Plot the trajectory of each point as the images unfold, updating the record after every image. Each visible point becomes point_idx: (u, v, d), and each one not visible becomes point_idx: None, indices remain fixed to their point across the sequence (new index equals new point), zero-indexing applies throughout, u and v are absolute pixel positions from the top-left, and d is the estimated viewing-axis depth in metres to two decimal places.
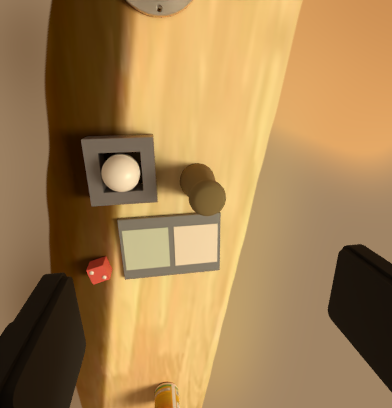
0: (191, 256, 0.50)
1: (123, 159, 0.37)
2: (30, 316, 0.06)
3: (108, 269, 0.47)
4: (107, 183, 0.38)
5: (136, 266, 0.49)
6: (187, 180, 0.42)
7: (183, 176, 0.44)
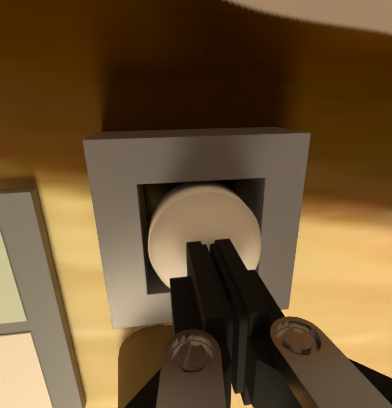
0: None
1: None
2: (203, 268, 0.08)
3: None
4: (189, 226, 0.11)
5: None
6: None
7: None
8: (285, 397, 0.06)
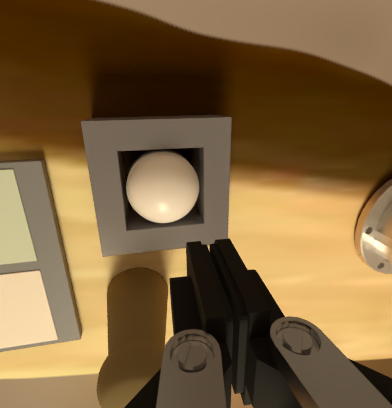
0: None
1: (195, 199, 0.20)
2: (203, 268, 0.08)
3: None
4: (150, 171, 0.18)
5: None
6: (150, 301, 0.23)
7: (149, 279, 0.25)
8: (285, 397, 0.06)
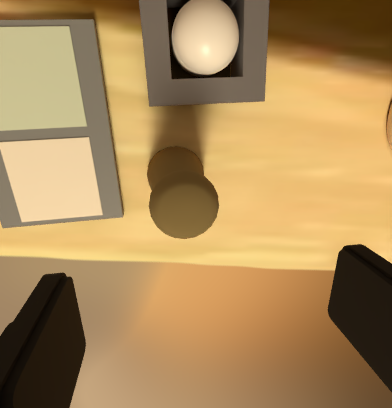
0: (26, 173, 0.26)
1: (236, 44, 0.21)
2: (30, 316, 0.06)
3: None
4: (196, 4, 0.19)
5: None
6: (190, 161, 0.24)
7: (187, 152, 0.27)
8: None
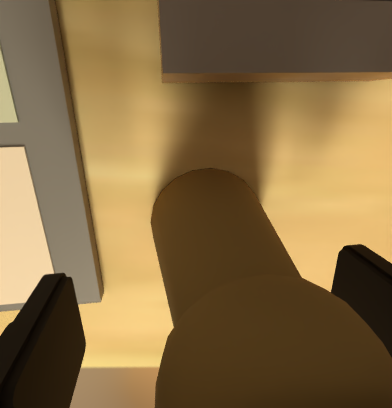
0: None
1: None
2: (30, 316, 0.06)
3: None
4: None
5: None
6: (254, 212, 0.10)
7: (237, 184, 0.13)
8: None
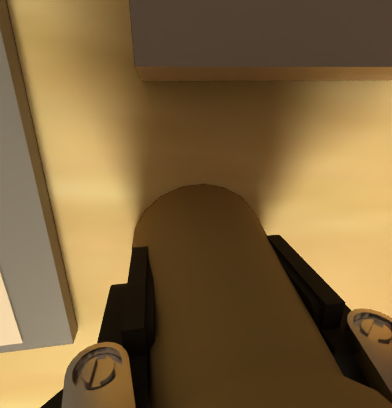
0: None
1: None
2: (139, 275, 0.08)
3: None
4: None
5: None
6: (258, 245, 0.08)
7: (236, 205, 0.10)
8: (354, 380, 0.06)
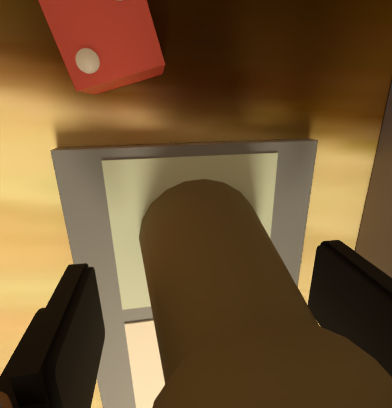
0: (158, 361, 0.16)
1: None
2: (61, 301, 0.07)
3: (117, 82, 0.10)
4: None
5: (121, 199, 0.12)
6: (254, 231, 0.09)
7: (234, 197, 0.11)
8: None
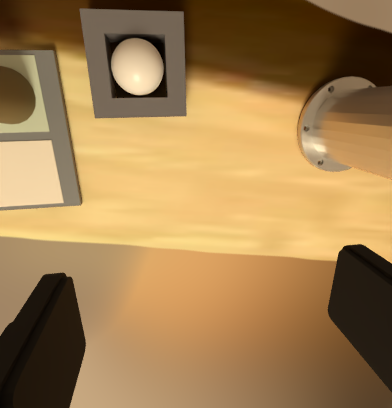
0: (0, 168, 0.32)
1: (159, 73, 0.28)
2: (30, 316, 0.06)
3: None
4: (126, 45, 0.26)
5: None
6: None
7: (6, 69, 0.28)
8: None
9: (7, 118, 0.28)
